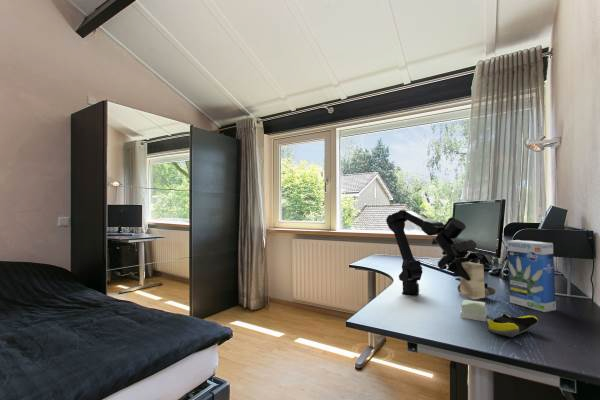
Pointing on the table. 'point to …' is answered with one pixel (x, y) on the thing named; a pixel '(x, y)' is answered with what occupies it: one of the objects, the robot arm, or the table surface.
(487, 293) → the figurine character
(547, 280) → the string lights box
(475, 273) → the maple block
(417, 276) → the robot arm
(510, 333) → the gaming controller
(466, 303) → the top slab
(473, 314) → the bottom slab
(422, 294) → the table surface
